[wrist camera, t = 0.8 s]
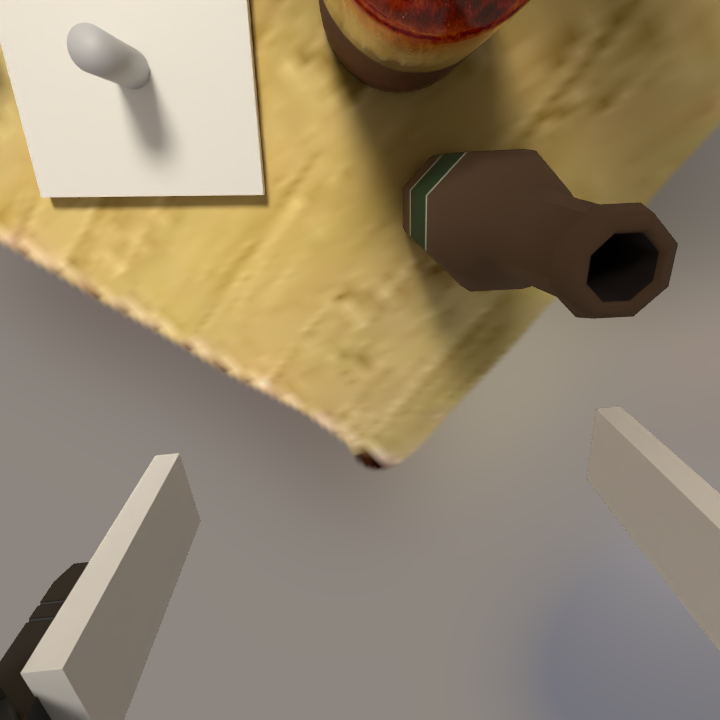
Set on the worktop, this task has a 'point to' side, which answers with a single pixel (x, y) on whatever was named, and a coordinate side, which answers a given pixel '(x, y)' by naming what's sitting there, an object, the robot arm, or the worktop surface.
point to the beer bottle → (535, 233)
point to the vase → (410, 37)
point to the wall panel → (136, 96)
